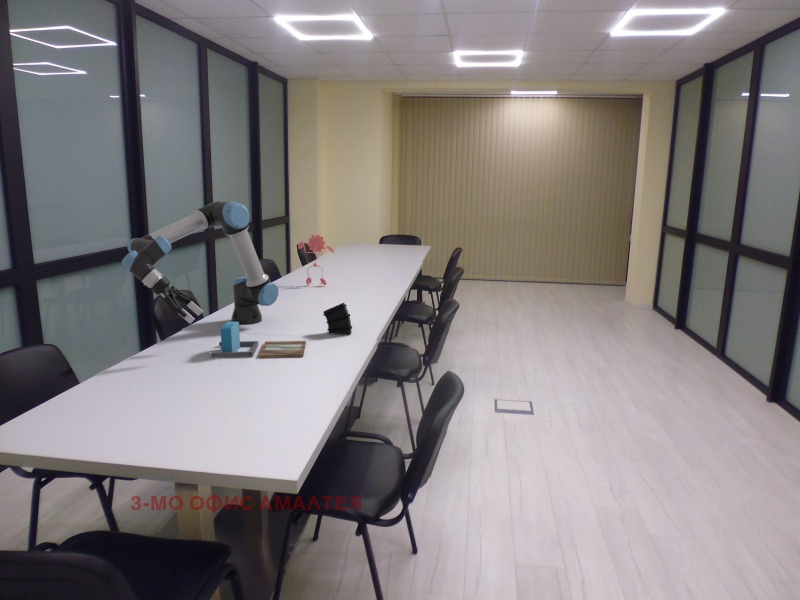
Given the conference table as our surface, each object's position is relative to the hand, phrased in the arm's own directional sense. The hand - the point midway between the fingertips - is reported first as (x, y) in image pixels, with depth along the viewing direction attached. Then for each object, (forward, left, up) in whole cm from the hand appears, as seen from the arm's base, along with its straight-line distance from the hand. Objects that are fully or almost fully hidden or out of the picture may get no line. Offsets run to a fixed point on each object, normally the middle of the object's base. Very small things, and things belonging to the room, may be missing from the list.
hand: (196, 317), depth 239 cm
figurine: (-150, +43, -15) cm, 157 cm away
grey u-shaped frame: (0, +15, -15) cm, 21 cm away
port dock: (0, +35, -15) cm, 38 cm away
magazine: (-26, +58, -15) cm, 66 cm away
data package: (0, +13, -15) cm, 20 cm away
